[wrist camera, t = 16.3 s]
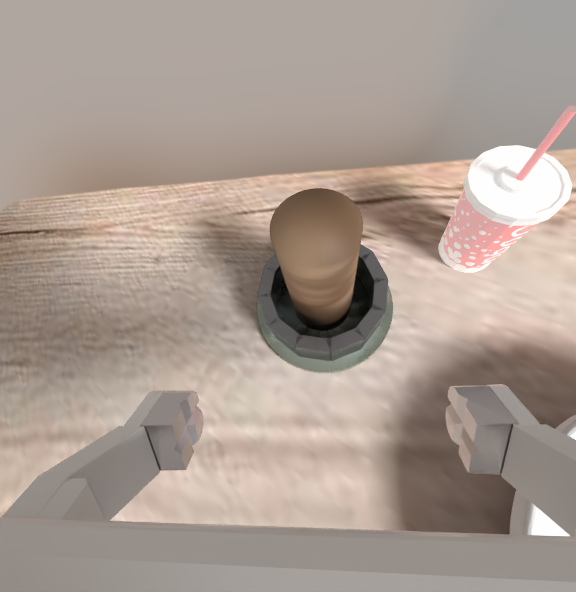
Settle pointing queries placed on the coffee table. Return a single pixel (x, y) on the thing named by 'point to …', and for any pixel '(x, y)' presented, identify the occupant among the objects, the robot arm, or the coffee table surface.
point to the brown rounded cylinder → (318, 254)
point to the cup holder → (333, 343)
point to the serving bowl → (527, 514)
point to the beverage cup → (504, 201)
